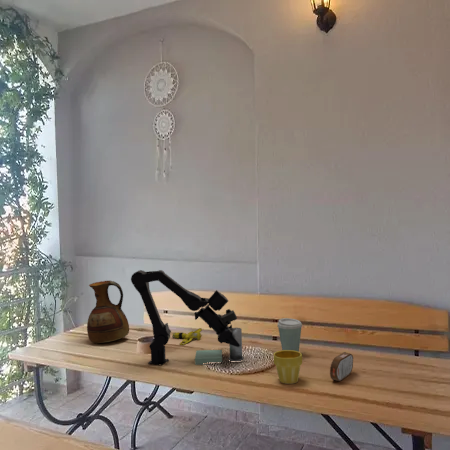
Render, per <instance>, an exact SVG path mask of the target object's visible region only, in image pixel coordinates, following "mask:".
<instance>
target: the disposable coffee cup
mask: <svg viewBox="0 0 450 450" xmlns="http://www.w3.org/2000/svg"><path fill="white" fill-rule="evenodd" d="M302 327H303V323H302V322H301V321H300V320H298V319H296V318H295V319H294V318H289V317H288V318H287V317H285V318H280V319H278V321H277V329H278V332H279V339H280V345H281V350H294V351H298V352H300V345H301V344H300V343H301V336H302Z"/></svg>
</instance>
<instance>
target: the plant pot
mask: <svg viewBox="0 0 450 450" xmlns="http://www.w3.org/2000/svg"><path fill="white" fill-rule="evenodd" d="M272 358H273V364H274V365H275V366H276V367H275V368H276V372H277V375H278V380H279V383H282V384H286V385H291V384H296V383H298V381H299V377H300V376H299V375H300V371H301V370H300V369H301V365H302V364H303V354H302V352H300V351H299V352H298V351H294V350H282V349H280V350H278V351H275V352H274V353H273V357H272Z"/></svg>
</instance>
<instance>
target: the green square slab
mask: <svg viewBox="0 0 450 450" xmlns="http://www.w3.org/2000/svg"><path fill="white" fill-rule="evenodd" d="M194 356H195V357H194V365H196V366H198V365H204V364H203V363H207V362H208V363H209V362H222V363H223V350H222V349H205V350H204V349H203V350H200V349H199V350H196V351H195V355H194Z"/></svg>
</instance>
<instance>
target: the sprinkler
mask: <svg viewBox="0 0 450 450" xmlns="http://www.w3.org/2000/svg"><path fill="white" fill-rule="evenodd" d="M202 329H203V328H202V327H199V328H198V329H196V330H194V331H193V330H191V331H189V332H188V333H185V332H173V333H172V334H171V335H172V338H174V339H177V340H179V339H180V340H181V339H182V341H181V342H180V343H179V346H185V345H186V344H188V343H190V342H192V340H197V341H200V340H201V339H202V333H201V332H202V331H203V330H202Z"/></svg>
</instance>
